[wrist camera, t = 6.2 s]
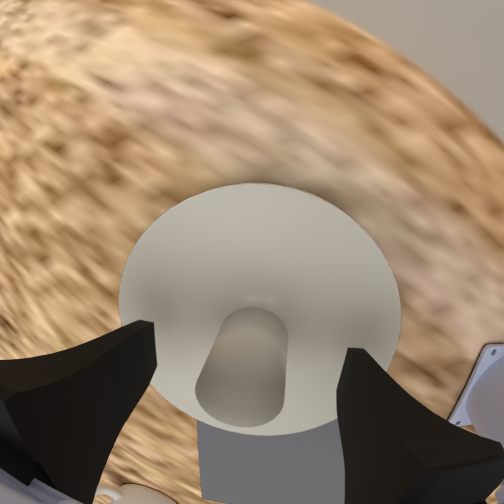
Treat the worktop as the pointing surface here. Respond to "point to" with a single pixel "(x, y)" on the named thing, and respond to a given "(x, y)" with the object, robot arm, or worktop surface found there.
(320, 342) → the lid
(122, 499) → the mug
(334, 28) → the worktop surface
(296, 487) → the mat
